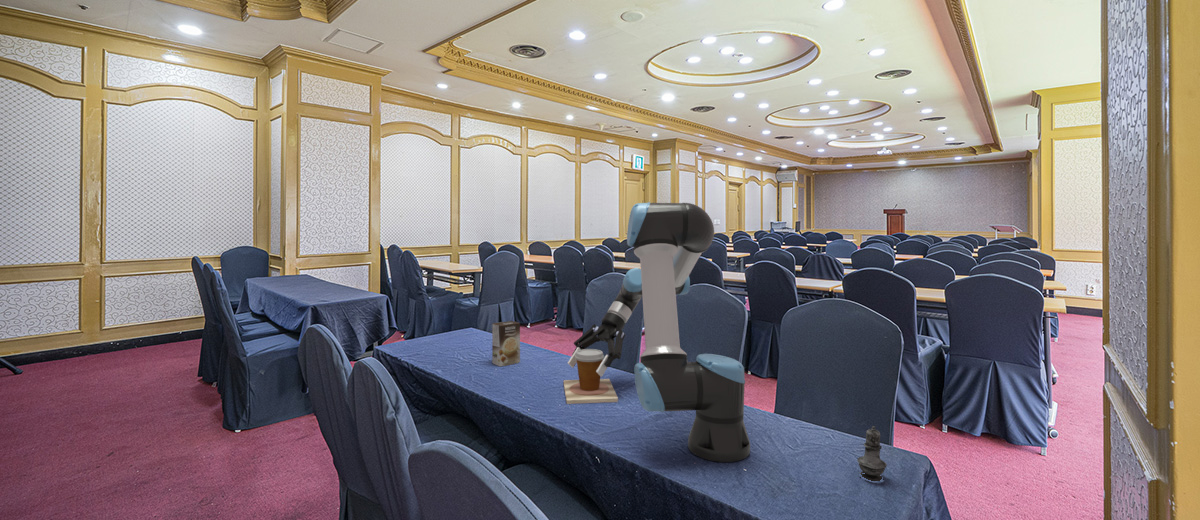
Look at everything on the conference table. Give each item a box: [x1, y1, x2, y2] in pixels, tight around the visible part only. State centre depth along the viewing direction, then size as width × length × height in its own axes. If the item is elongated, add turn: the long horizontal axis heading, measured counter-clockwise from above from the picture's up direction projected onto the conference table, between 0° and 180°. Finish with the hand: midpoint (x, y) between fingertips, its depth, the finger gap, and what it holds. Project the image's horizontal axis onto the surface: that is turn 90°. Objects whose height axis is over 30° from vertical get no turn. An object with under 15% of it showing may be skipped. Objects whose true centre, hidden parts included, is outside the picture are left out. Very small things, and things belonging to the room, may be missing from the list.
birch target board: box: [563, 378, 619, 405], centre depth 176 cm, size 20×16×1 cm
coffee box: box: [491, 320, 521, 367], centre depth 210 cm, size 9×6×16 cm
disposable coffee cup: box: [575, 348, 605, 391], centre depth 176 cm, size 10×10×12 cm
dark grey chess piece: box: [857, 425, 888, 481], centre depth 119 cm, size 6×6×12 cm
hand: (584, 369), depth 174 cm, fingers open, 13 cm apart
